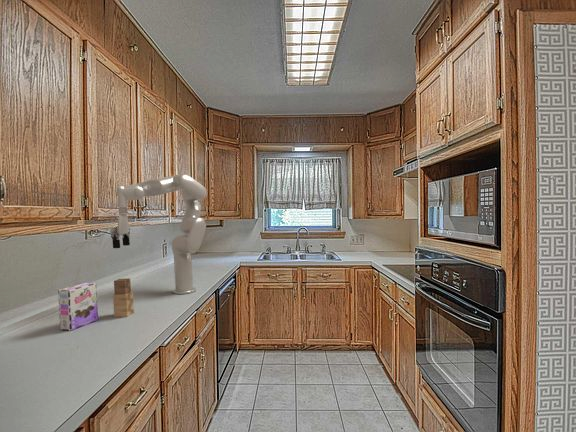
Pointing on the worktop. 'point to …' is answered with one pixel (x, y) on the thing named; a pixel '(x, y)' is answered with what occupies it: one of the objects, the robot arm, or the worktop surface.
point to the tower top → (123, 299)
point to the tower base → (123, 310)
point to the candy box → (77, 306)
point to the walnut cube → (122, 286)
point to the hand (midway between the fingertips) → (121, 246)
